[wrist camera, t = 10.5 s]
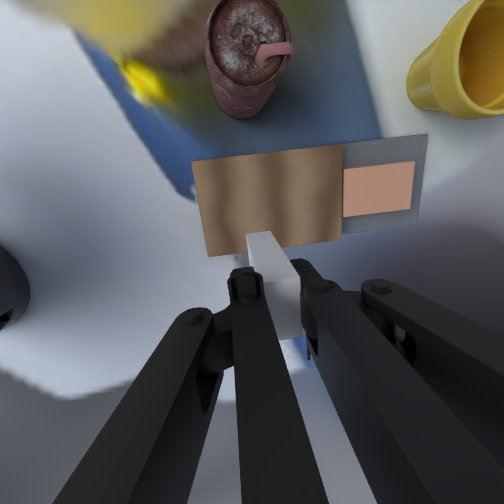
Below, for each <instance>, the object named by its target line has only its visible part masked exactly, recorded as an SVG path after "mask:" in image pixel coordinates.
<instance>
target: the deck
mask: <svg viewBox="0 0 504 504" xmlns="http://www.w3.org/2000/svg"><path fill="white" fill-rule="evenodd" d="M191 165H192V171H193V176H194V182H195V187H196V192H197V198H198V203H199V209H200V214H201V220H202V225H203V231H204V236H205V242H206V247H207V253H208V257H212V256H220V255H228V254H235V253H243V252H248V247H247V239H246V234H250V233H257V232H264V231H271V233H272V234H273V236H274V238H275V239H276V241H277V242H278V244H279V245H280V247H289V246H296V245H304V244H311V243H319V242H327V241H335V240H341V229H342V144H336V145H327V146H319V147H310V148H302V149H293V150H285V151H276V152H268V153H259V154H251V155H243V156H234V157H226V158H217V159H209V160H200V161H192V162H191Z"/></svg>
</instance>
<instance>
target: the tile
mask: <svg viewBox="0 0 504 504" xmlns="http://www.w3.org/2000/svg"><path fill="white" fill-rule="evenodd" d="M414 167H415V161H400V162H392V163H383V164H375V165H366V166H357V167H349V168H342V217H349V216H357V215H365V214H373V213H381V212H389V211H397V210H405V209H410V204H411V195H412V185H413V176H414Z"/></svg>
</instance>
